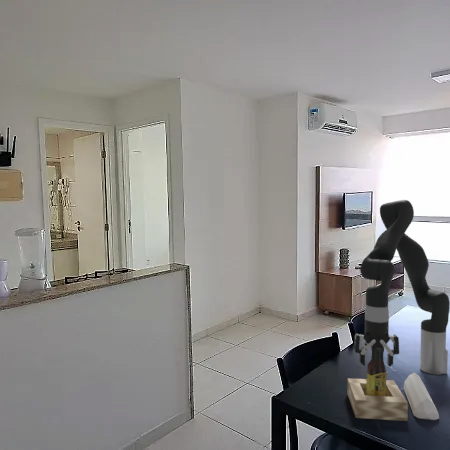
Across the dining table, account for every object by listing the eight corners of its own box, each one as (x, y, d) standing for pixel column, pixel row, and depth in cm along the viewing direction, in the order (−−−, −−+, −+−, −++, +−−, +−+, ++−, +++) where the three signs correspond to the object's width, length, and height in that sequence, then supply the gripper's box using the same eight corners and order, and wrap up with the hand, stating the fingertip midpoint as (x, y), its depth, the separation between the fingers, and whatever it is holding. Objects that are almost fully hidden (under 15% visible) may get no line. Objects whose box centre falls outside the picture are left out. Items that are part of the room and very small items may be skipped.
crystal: (447, 413, 127) (429, 379, 150) (426, 399, 128) (411, 368, 151) (434, 431, 128) (418, 395, 151) (413, 417, 130) (400, 384, 153)
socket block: (393, 396, 145) (393, 380, 145) (407, 420, 129) (407, 402, 129) (347, 394, 147) (347, 378, 147) (355, 417, 131) (355, 399, 131)
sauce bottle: (376, 410, 134) (377, 351, 133) (361, 401, 140) (362, 345, 138) (390, 405, 137) (391, 348, 136) (375, 397, 142) (376, 342, 141)
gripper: (395, 315, 139) (394, 361, 140) (352, 314, 141) (352, 359, 142) (402, 322, 132) (401, 370, 133) (356, 320, 134) (356, 368, 135)
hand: (376, 365), depth 137 cm, fingers open, 8 cm apart
